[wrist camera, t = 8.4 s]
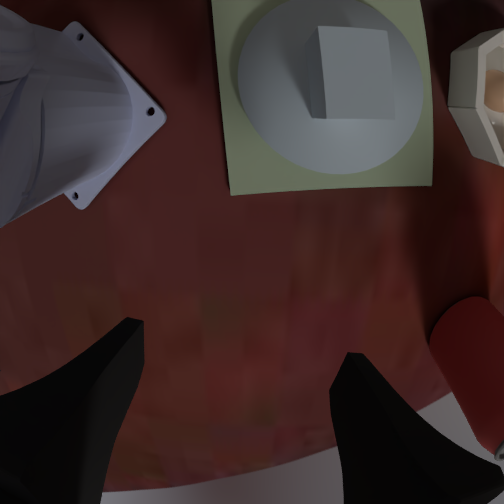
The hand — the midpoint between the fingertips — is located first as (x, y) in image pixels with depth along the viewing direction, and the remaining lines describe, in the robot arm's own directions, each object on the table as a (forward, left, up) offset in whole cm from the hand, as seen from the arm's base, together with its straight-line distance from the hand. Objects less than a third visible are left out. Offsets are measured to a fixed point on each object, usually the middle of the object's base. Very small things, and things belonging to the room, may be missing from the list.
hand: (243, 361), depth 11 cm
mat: (-5, +10, -9) cm, 14 cm away
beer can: (+16, +9, -10) cm, 21 cm away
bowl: (+2, +20, -9) cm, 22 cm away
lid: (-5, +10, -9) cm, 14 cm away
